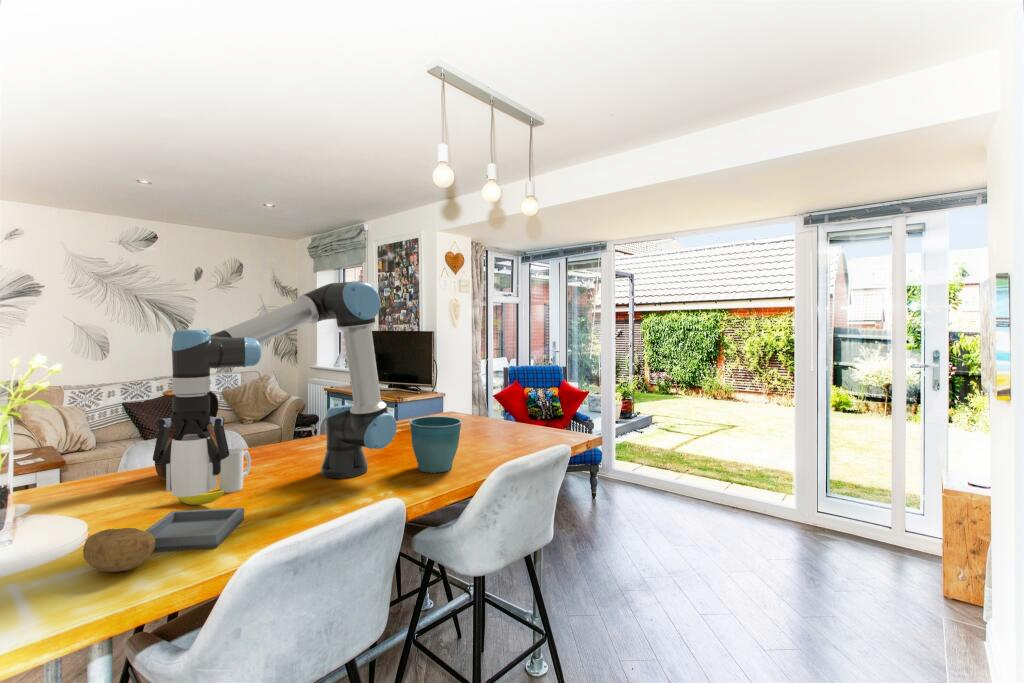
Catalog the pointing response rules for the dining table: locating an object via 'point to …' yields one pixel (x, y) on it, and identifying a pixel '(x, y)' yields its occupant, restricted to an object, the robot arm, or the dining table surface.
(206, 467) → the cup
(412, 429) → the flower pot
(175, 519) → the tray
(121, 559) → the potato
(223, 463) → the mug
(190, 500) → the banana
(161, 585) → the dining table surface
